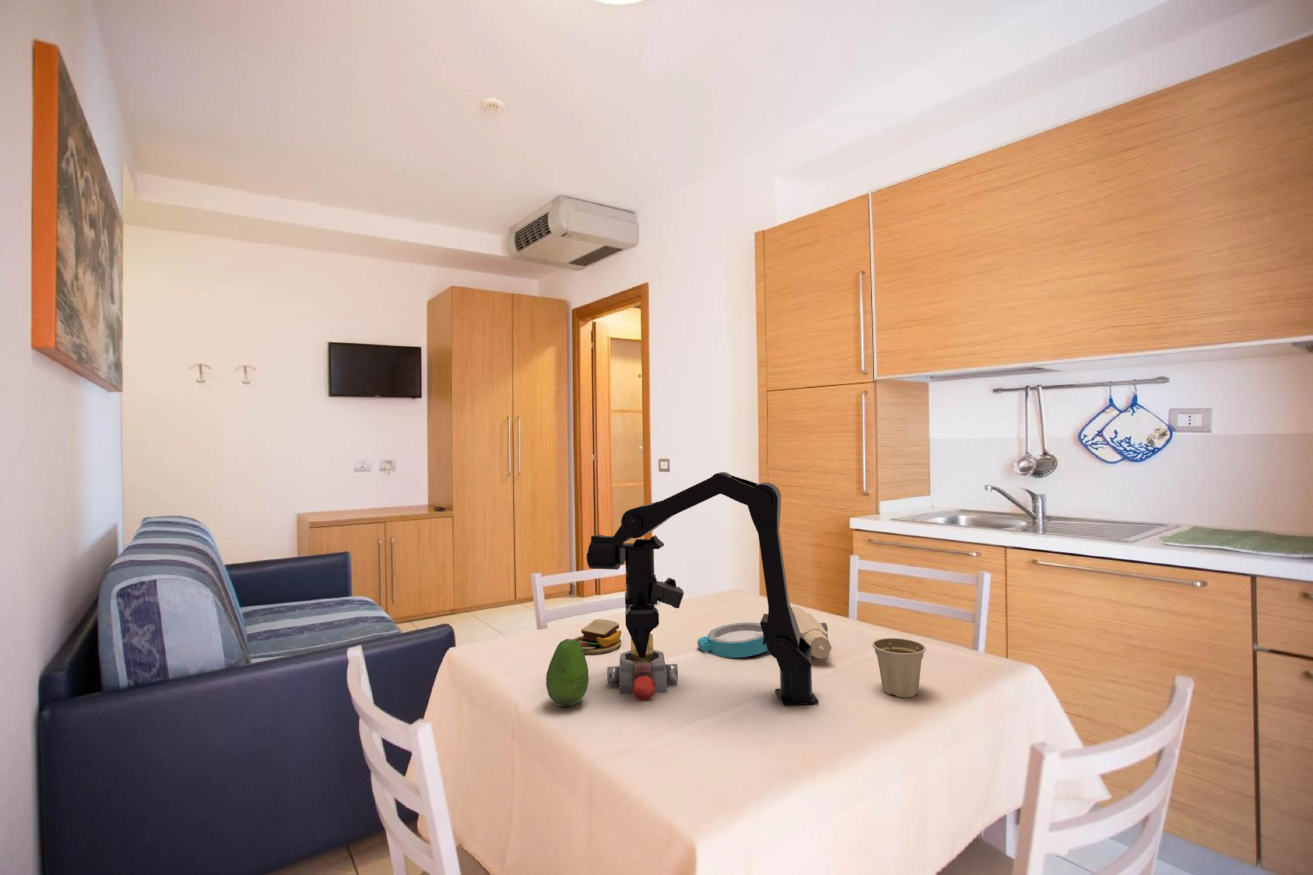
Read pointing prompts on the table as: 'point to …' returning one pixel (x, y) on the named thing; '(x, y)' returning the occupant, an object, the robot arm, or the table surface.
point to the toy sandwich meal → (600, 637)
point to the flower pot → (899, 665)
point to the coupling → (649, 652)
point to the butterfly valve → (750, 637)
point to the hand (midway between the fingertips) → (641, 649)
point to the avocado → (567, 674)
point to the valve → (642, 675)
